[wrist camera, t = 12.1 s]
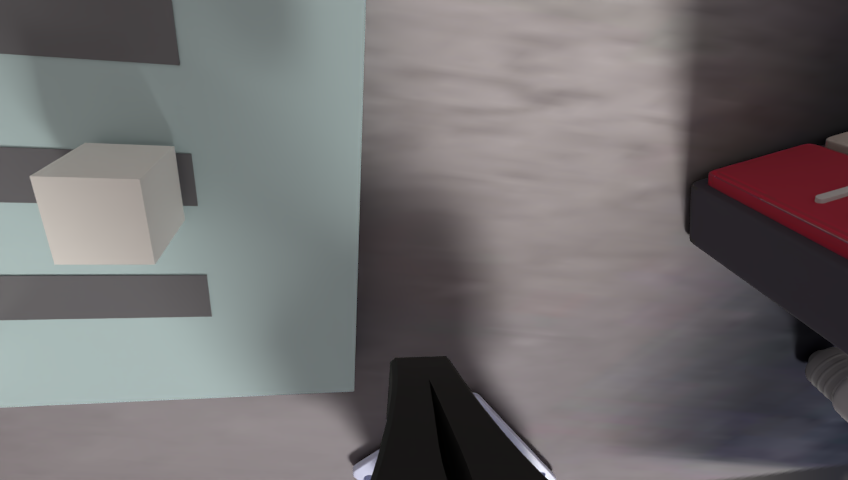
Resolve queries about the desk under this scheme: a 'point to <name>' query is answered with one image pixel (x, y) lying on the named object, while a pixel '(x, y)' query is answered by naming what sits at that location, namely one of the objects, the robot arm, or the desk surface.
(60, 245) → the tab
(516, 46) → the desk surface
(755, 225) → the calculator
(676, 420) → the desk surface
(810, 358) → the lightbulb
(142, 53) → the switch board
